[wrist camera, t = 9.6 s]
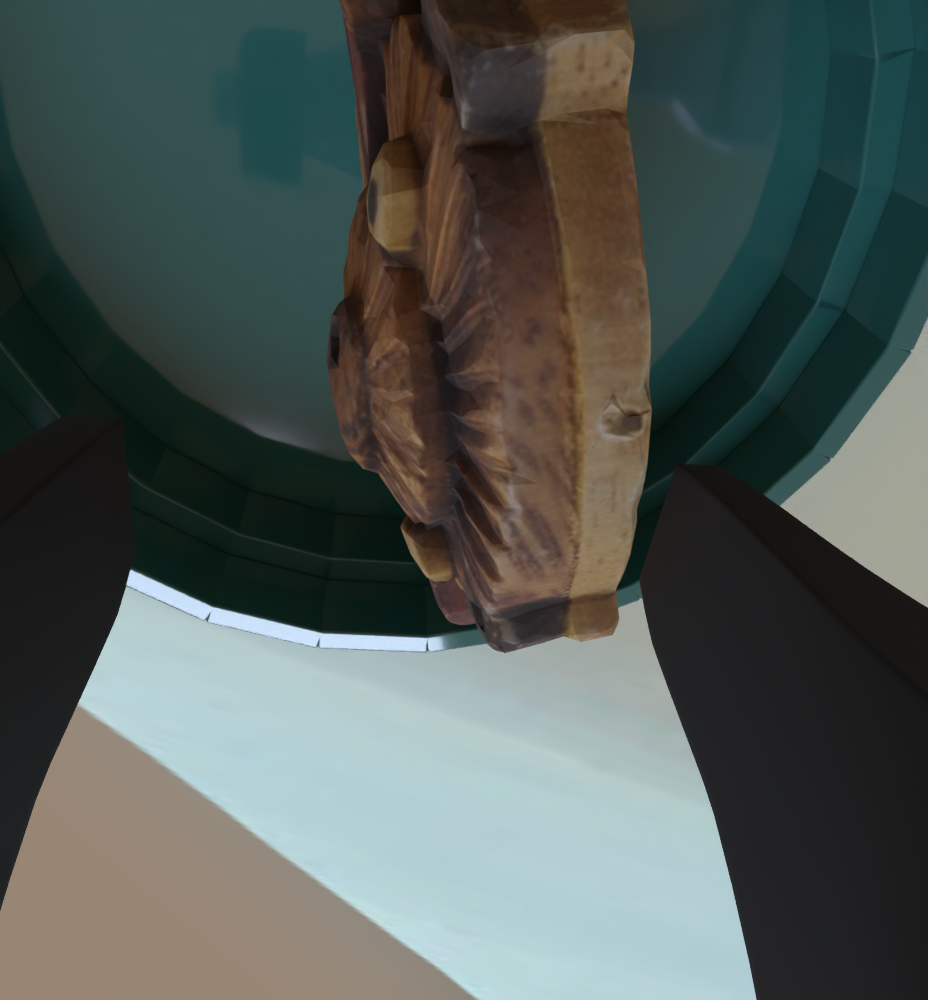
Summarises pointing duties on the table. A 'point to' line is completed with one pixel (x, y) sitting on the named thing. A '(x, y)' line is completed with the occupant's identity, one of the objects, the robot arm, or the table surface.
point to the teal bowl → (324, 247)
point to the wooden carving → (499, 304)
